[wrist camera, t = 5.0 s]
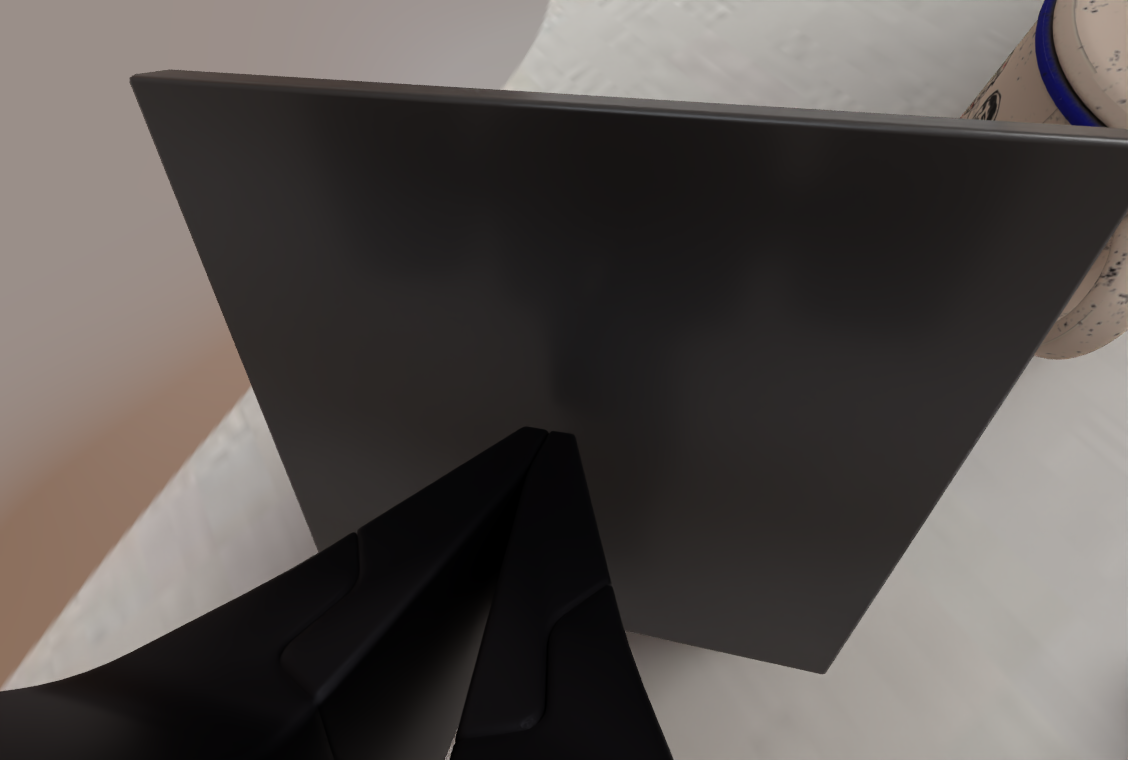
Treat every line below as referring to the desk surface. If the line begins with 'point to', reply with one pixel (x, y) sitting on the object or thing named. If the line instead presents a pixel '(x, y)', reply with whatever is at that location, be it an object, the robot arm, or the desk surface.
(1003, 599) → the desk surface
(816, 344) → the dark grey flat tile
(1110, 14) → the teacup with lid
